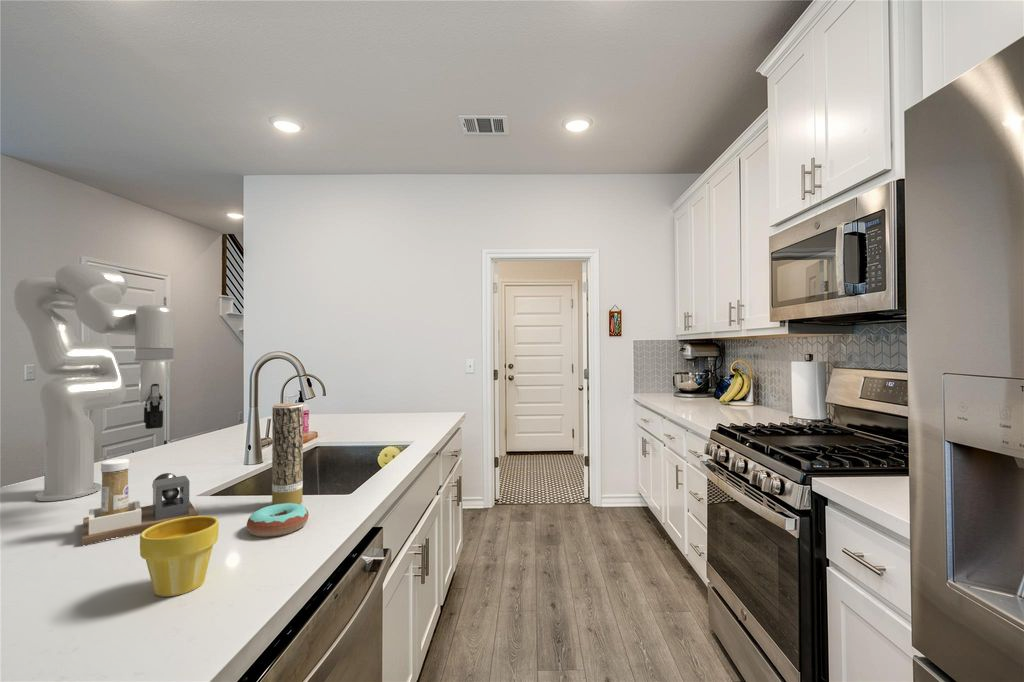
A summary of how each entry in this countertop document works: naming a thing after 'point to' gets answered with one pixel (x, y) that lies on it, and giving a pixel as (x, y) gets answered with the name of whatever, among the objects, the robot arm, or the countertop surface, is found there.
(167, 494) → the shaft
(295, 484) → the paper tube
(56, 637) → the countertop surface
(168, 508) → the bearing block
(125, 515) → the socket
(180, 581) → the plant pot
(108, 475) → the sprinkles bottle
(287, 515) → the donut
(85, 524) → the walnut board
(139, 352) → the robot arm
